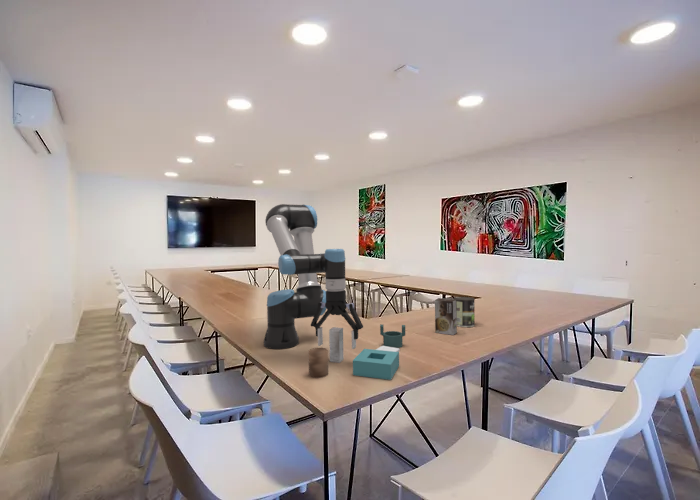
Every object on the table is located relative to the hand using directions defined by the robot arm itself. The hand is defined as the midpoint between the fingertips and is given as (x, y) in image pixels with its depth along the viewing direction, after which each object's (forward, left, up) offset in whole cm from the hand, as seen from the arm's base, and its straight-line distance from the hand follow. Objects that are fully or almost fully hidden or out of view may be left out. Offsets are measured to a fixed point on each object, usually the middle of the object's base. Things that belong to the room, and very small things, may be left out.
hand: (336, 346), depth 129 cm
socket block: (+17, -5, -5) cm, 18 cm away
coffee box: (+36, +52, -6) cm, 64 cm away
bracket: (+16, +25, -6) cm, 30 cm away
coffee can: (+44, +70, -6) cm, 83 cm away
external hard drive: (+15, +13, -6) cm, 21 cm away
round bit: (-1, -14, -5) cm, 15 cm away
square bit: (0, 0, -5) cm, 5 cm away
